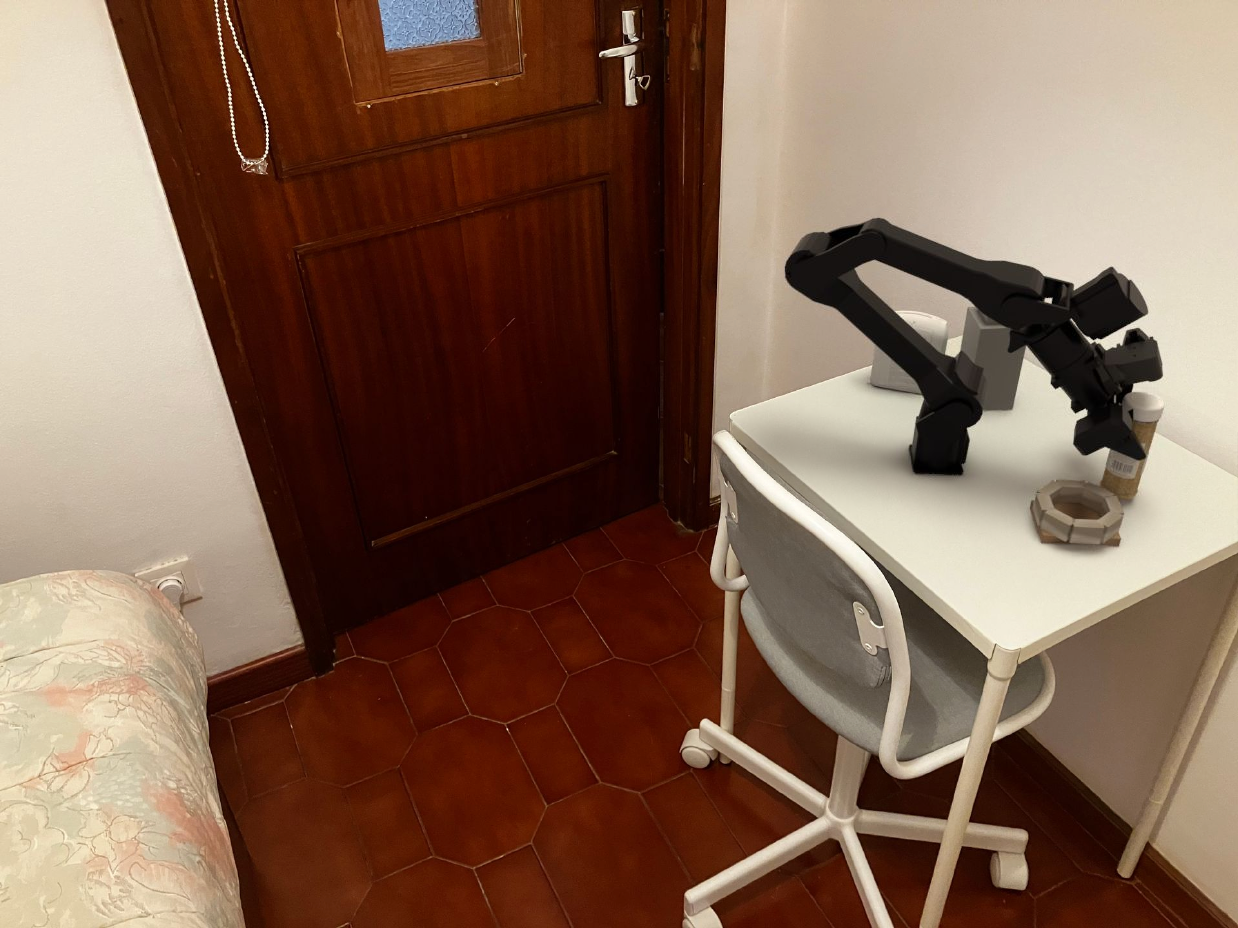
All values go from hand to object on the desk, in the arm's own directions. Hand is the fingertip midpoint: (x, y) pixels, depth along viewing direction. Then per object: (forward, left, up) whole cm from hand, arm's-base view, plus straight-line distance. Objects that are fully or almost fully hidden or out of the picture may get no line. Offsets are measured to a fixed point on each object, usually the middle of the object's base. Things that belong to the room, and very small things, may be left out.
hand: (1142, 448), depth 126 cm
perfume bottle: (-14, +23, -8) cm, 28 cm away
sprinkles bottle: (-1, 0, -7) cm, 7 cm away
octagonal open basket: (-8, -7, -8) cm, 13 cm away
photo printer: (-25, +26, -8) cm, 37 cm away
